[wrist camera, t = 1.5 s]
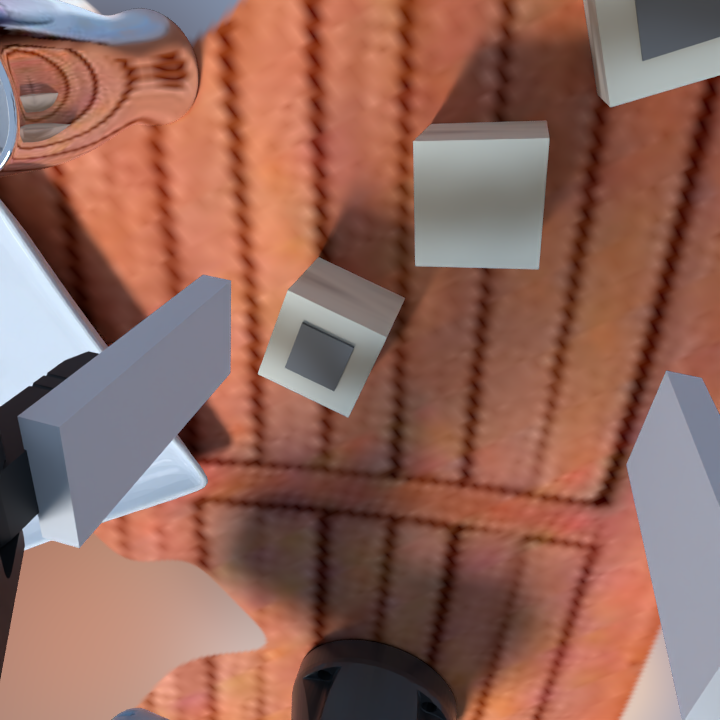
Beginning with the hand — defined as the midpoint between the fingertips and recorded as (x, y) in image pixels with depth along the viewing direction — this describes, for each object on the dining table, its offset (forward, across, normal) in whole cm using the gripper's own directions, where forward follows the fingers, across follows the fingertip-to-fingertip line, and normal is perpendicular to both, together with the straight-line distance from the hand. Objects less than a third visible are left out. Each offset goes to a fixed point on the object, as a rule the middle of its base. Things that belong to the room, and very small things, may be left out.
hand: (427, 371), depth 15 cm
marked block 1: (+22, +7, +10) cm, 25 cm away
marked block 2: (+22, -6, -9) cm, 25 cm away
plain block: (+22, 0, 0) cm, 22 cm away
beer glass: (+22, +20, -3) cm, 30 cm away
